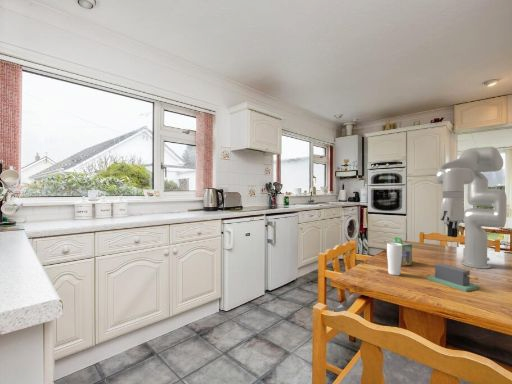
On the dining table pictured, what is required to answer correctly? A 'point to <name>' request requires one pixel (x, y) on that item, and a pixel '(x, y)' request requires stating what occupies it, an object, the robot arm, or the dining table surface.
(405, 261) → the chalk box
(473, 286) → the header strip
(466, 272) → the block
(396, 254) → the white cup
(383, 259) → the dining table surface
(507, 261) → the dining table surface
